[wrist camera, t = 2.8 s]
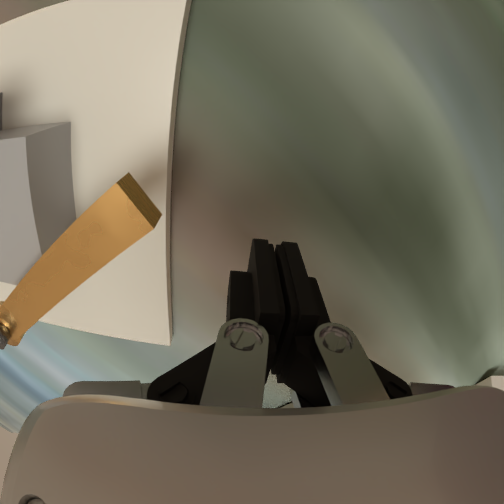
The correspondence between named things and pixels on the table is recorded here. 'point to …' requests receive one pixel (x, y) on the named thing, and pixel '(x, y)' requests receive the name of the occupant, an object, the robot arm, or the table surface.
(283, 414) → the robot arm
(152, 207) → the bar
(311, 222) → the table surface
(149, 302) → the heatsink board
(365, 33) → the table surface
